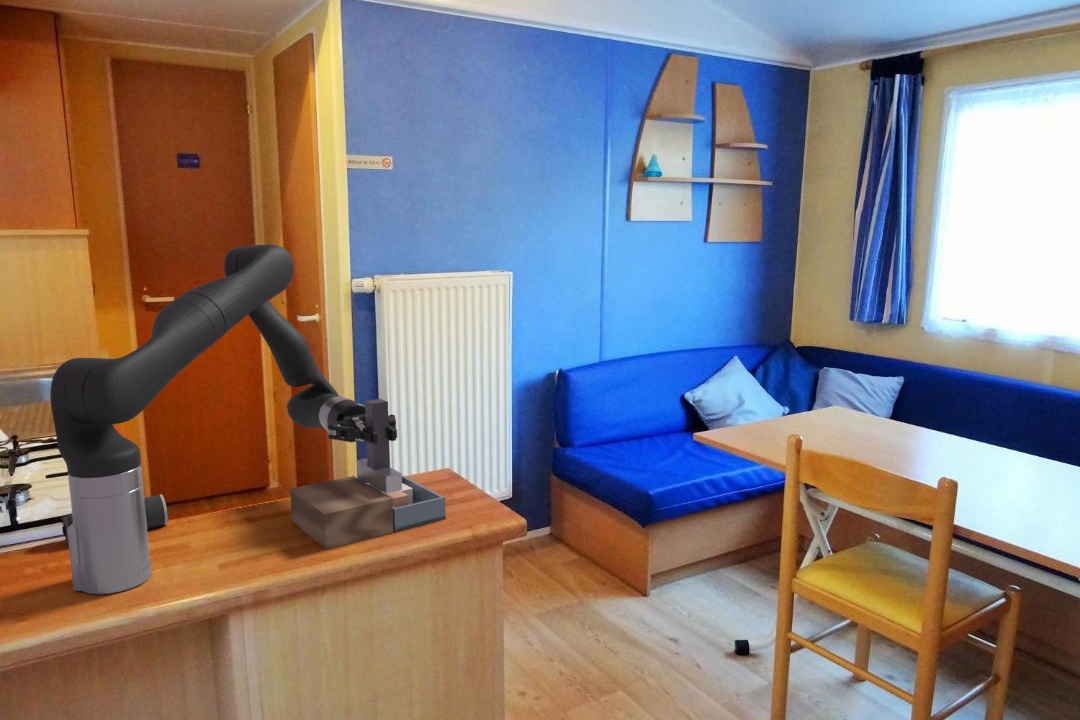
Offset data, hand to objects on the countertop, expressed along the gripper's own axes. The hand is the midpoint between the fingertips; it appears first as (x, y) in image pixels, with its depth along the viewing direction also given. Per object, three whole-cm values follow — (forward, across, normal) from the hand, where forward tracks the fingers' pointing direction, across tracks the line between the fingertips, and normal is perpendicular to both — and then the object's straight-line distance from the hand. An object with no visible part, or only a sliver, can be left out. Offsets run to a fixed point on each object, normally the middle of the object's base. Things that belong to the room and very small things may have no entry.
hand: (384, 436), depth 133 cm
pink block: (0, 0, +13) cm, 13 cm away
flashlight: (-24, -39, +16) cm, 48 cm away
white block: (-6, +5, +12) cm, 14 cm away
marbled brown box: (-3, -8, +16) cm, 18 cm away
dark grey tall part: (-3, 0, +9) cm, 10 cm away
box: (-3, +4, +16) cm, 16 cm away
